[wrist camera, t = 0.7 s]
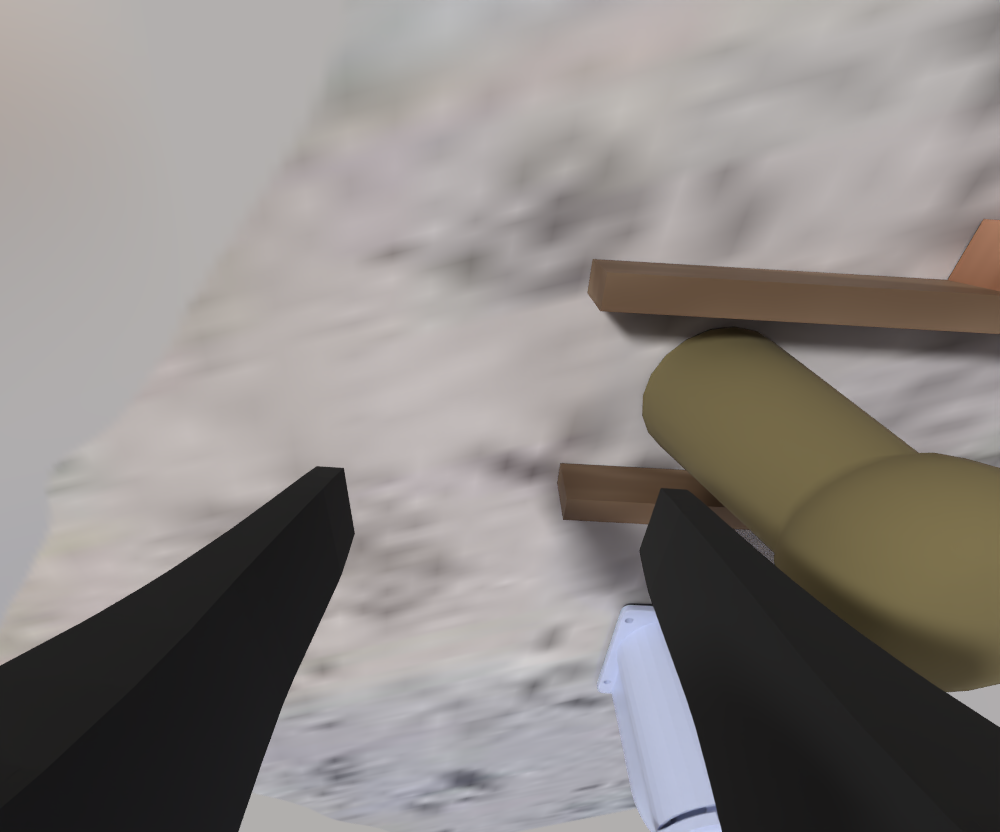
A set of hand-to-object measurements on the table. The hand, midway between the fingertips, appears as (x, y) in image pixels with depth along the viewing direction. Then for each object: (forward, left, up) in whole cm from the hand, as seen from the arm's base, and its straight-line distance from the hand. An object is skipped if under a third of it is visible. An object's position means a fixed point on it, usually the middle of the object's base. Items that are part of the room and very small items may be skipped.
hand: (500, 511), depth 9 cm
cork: (-1, -9, -8) cm, 12 cm away
